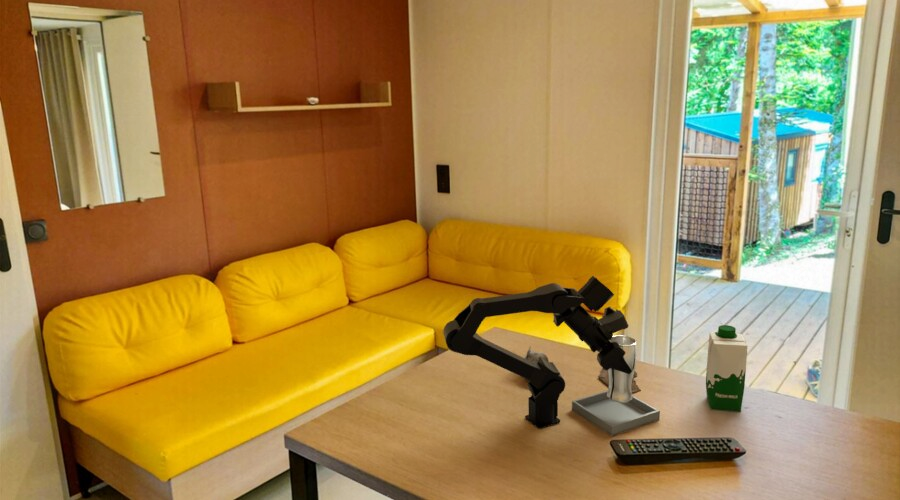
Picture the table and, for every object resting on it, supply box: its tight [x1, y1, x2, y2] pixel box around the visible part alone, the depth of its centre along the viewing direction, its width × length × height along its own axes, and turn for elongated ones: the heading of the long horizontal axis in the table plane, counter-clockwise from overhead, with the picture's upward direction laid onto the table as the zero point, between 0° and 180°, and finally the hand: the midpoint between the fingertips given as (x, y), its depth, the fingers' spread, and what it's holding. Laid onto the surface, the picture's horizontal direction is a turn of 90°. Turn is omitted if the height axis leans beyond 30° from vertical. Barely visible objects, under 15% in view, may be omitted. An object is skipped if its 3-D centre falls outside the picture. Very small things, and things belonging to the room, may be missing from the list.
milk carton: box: [705, 324, 748, 413], centre depth 159 cm, size 9×9×20 cm
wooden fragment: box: [597, 367, 642, 395], centre depth 180 cm, size 26×11×1 cm, turn 169°
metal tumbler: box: [607, 334, 638, 403], centre depth 154 cm, size 7×7×15 cm
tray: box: [571, 389, 661, 437], centre depth 158 cm, size 15×15×2 cm
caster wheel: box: [524, 345, 550, 362], centre depth 180 cm, size 7×11×10 cm
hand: (626, 366), depth 154 cm, fingers closed on metal tumbler, 6 cm apart
